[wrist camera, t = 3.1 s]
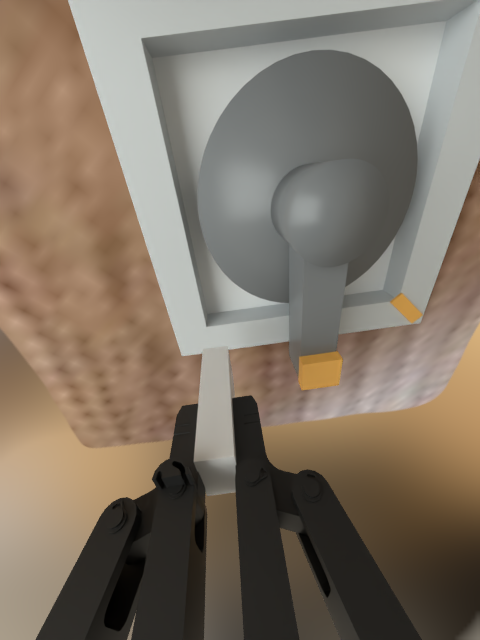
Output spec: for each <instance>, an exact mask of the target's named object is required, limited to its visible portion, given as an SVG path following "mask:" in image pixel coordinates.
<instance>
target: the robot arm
mask: <svg viewBox="0 0 480 640" xmlns="http://www.w3.org/2000/svg"><path fill="white" fill-rule="evenodd" d="M152 480H153V482H154V483H155V485H156V488H155V489H153V490H152V491H150V492H149V493H147V494H145V495H143V496H141V497H139V498H137V499H135V500H132V499H130V498H127V497H126V498H120V499H118V500H116V501H114V502H112V503H111V504H110V505H109V506H108V507H107V508H106V509H105V510H104V512H103V513H102V515H101V516H100V518H99V520H98V522H97V524H96V526H95V527H94V530H93V531H92V533H91V535H90V537H89V539H88V541H87V543H86V545H85V547H84V548H83V550H82V552H81V554H80V556H79V558H78V560H77V562H76V564H75V566H74V567H73V570H72V571H71V573H70V575H69V577H68V579H67V581H66V583H65V585H64V586H63V588H62V590H61V592H60V594H59V596H58V598H57V600H56V602H55V604H54V606H53V607H52V609H51V611H50V613H49V615H48V617H47V619H46V621H45V623H44V625H43V626H42V628H41V630H40V632H39V634H38V636H37V638H36V640H127V637H128V634H129V632H130V628H131V625H132V622H133V619H134V616H135V613H136V616H135V622H134V627H133V633H132V639H131V640H204V614H205V613H204V611H205V577H206V575H205V574H206V537H207V509H206V506H205V491H206V494H207V496H211V495H217V494H224V493H231V492H236V506H237V524H238V541H239V559H240V576H241V592H242V593H241V594H242V611H243V629H244V640H299V635H298V629H297V624H296V618H295V612H294V607H293V601H292V596H291V590H290V584H289V578H288V573H287V567H286V561H285V556H284V550H283V545H282V539H281V533H280V528H283V529H286V530H290V531H294V532H296V534H297V537H298V539H299V541H300V544H301V546H302V549H303V551H304V553H305V556H306V558H307V561H308V563H309V565H310V568H311V570H312V572H313V575H314V577H315V580H316V582H317V584H318V587H319V589H320V592H321V594H322V596H323V599H324V601H325V603H326V606H327V608H328V611H329V613H330V615H331V618H332V620H333V623H334V625H335V627H336V630H337V632H338V635H339V637H340V639H341V640H422V639H421V638H420V636H419V634H418V633H417V631H416V629H415V628H414V626H413V624H412V623H411V621H410V619H409V618H408V616H407V614H406V613H405V611H404V609H403V607H402V606H401V604H400V602H399V601H398V599H397V597H396V596H395V594H394V592H393V591H392V589H391V588H390V586H389V584H388V583H387V581H386V579H385V578H384V576H383V574H382V572H381V571H380V569H379V568H378V566H377V564H376V563H375V561H374V559H373V557H372V556H371V554H370V553H369V551H368V549H367V547H366V546H365V544H364V542H363V541H362V539H361V537H360V536H359V534H358V533H357V531H356V529H355V527H354V526H353V524H352V522H351V521H350V519H349V517H348V516H347V514H346V512H345V511H344V509H343V507H342V506H341V504H340V502H339V501H338V499H337V497H336V496H335V494H334V492H333V490H332V489H331V487H330V486H329V484H328V482H327V481H326V480H325V479H324V477H323V476H322V475H320V474H319V473H317V472H315V471H312V470H303V471H300V472H299V473H298V474H294V473H289V472H284V471H282V470H279V469H277V468H276V467H274V466H273V465H272V464H271V463H270V462H269V460H268V458H267V455H266V452H265V446H264V441H263V435H262V429H261V424H260V418H259V412H258V407H257V403H256V401H255V400H254V398H253V397H252V396H244V397H237V398H235V394H234V382H233V374H232V368H231V363H230V357H229V352H228V346H223V347H216V348H209V349H203V353H202V366H201V378H200V390H199V402H198V404H192V405H185V406H182V408H181V409H180V411H179V413H178V414H177V418H176V424H175V430H174V436H173V441H172V448H171V453H170V459H168V460H166V461H164V462H163V463H162V464H160V466H159V467H158V468H157V469H156V471H155V473H154V475H153V478H152ZM136 610H137V611H136Z"/></svg>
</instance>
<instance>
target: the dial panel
mask: <svg viewBox="0 0 480 640" xmlns="http://www.w3.org/2000/svg"><path fill="white" fill-rule="evenodd" d="M68 1H69V5H70V8H71V11H72V14H73V17H74V20H75V23H76V26H77V30H78V33H79V36H80V39H81V42H82V45H83V48H84V51H85V55H86V58H87V61H88V64H89V67H90V70H91V73H92V76H93V80H94V83H95V86H96V89H97V92H98V95H99V98H100V101H101V105H102V108H103V111H104V114H105V117H106V120H107V123H108V126H109V130H110V133H111V136H112V139H113V142H114V145H115V148H116V151H117V155H118V158H119V161H120V164H121V167H122V170H123V173H124V176H125V180H126V183H127V186H128V189H129V192H130V195H131V198H132V201H133V205H134V208H135V211H136V214H137V217H138V220H139V223H140V226H141V229H142V233H143V236H144V239H145V242H146V245H147V248H148V251H149V254H150V258H151V261H152V264H153V267H154V270H155V273H156V276H157V279H158V283H159V286H160V289H161V292H162V295H163V298H164V301H165V304H166V308H167V311H168V314H169V317H170V320H171V323H172V326H173V329H174V333H175V336H176V339H177V342H178V345H179V348H180V351H181V354H182V356H187V355H194V354H201V353H203V349H209V348H216V347H223V346H228V350H230V349H237V348H244V347H251V346H259V345H266V344H273V343H280V342H287V341H289V303H279V302H273V301H268V300H265V299H262V298H259V297H256V296H254V295H252V294H250V293H248V292H246V291H245V290H243V289H241V288H240V287H239V286H237V285H236V284H235V283H234V282H232V281H231V280H230V279H229V278H228V277H227V276H226V275H225V274H224V273H223V272H222V270H221V269H220V267H219V266H218V265H217V263H216V262H215V260H214V259H213V257H212V255H211V253H210V251H209V249H208V247H207V244H206V242H205V239H204V237H203V233H202V229H201V225H200V221H199V213H198V196H197V189H198V179H199V171H200V167H201V162H202V158H203V154H204V151H205V148H206V145H207V142H208V140H209V137H210V135H211V133H212V131H213V129H214V127H215V125H216V123H217V121H218V119H219V117H220V115H221V114H222V112H223V111H224V109H225V108H226V107H227V105H228V104H229V102H230V101H231V100H232V98H233V97H234V96H235V95H236V94H237V93H238V92H239V90H240V89H241V88H242V87H243V86H244V85H245V84H246V83H247V82H249V81H250V80H251V79H252V78H253V77H254V76H256V75H257V74H258V73H259V72H261V71H262V70H264V69H266V68H267V67H269V66H270V65H272V64H274V63H275V62H277V61H279V60H282V59H284V58H287V57H289V56H291V55H294V54H298V53H303V52H307V51H311V50H336V51H342V52H348V53H351V54H353V55H356V56H359V57H361V58H364V59H366V60H367V61H369V62H370V63H372V64H373V65H375V66H377V67H378V68H380V69H381V70H382V71H383V72H384V73H385V74H386V75H387V76H388V77H389V78H390V79H391V80H392V81H393V83H394V84H395V86H396V87H397V88H398V90H399V91H400V93H401V94H402V96H403V98H404V100H405V102H406V104H407V106H408V108H409V111H410V114H411V117H412V120H413V123H414V127H415V133H416V140H417V155H418V162H417V174H416V181H415V186H414V191H413V195H412V198H411V202H410V205H409V208H408V211H407V213H406V215H405V218H404V220H403V223H402V225H401V226H400V228H399V230H398V232H397V234H396V236H395V237H394V239H393V240H392V242H391V243H390V245H389V246H388V248H387V249H386V251H385V252H384V253H383V254H382V256H381V257H380V258H379V259H378V260H377V261H376V262H375V263H374V264H373V266H372V267H371V268H370V269H369V270H368V271H366V272H365V273H364V274H363V275H362V276H360V277H359V278H358V279H357V280H355V281H354V282H352V283H351V284H349V285H348V286H346V287H345V291H344V298H343V306H342V313H341V320H340V327H339V334H345V333H352V332H359V331H366V330H374V329H381V328H388V327H395V326H402V325H409V324H417V323H421V320H422V317H423V315H424V312H425V309H426V306H427V303H428V301H429V298H430V295H431V292H432V290H433V287H434V284H435V281H436V278H437V276H438V273H439V270H440V267H441V265H442V262H443V259H444V256H445V253H446V251H447V248H448V245H449V242H450V239H451V237H452V234H453V231H454V228H455V226H456V223H457V220H458V217H459V214H460V212H461V209H462V206H463V203H464V201H465V198H466V195H467V192H468V189H469V187H470V184H471V181H472V178H473V176H474V173H475V170H476V167H477V164H478V162H479V159H480V0H68Z"/></svg>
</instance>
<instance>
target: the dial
mask: <svg viewBox="0 0 480 640" xmlns="http://www.w3.org/2000/svg"><path fill="white" fill-rule="evenodd" d="M417 162H418V155H417V140H416V133H415V127H414V123H413V120H412V117H411V114H410V111H409V108H408V106H407V104H406V102H405V100H404V98H403V96H402V94H401V93H400V91H399V90H398V88H397V87H396V86H395V84H394V83H393V81H392V80H391V79H390V78H389V77H388V76H387V75H386V74H385V73H384V72H383V71H382V70H381V69H380V68H378V67H377V66H375V65H373V64H372V63H370V62H369V61H367V60H366V59H364V58H361V57H359V56H356V55H353V54H351V53H348V52H342V51H336V50H311V51H307V52H303V53H298V54H294V55H291V56H289V57H287V58H284V59H282V60H279V61H277V62H275V63H274V64H272V65H270V66H269V67H267V68H266V69H264V70H262V71H261V72H259V73H258V74H257V75H256V76H254V77H253V78H252V79H251V80H250V81H249V82H247V83H246V84H245V85H244V86H243V87H242V88H241V89H240V90H239V92H238V93H237V94H236V95H235V96H234V97H233V98H232V100H231V101H230V102H229V104H228V105H227V107H226V108H225V109H224V111H223V112H222V114H221V115H220V117H219V119H218V121H217V123H216V125H215V127H214V129H213V131H212V133H211V135H210V137H209V140H208V142H207V145H206V148H205V151H204V154H203V158H202V162H201V167H200V171H199V179H198V189H197V196H198V213H199V221H200V225H201V229H202V233H203V237H204V239H205V242H206V244H207V247H208V249H209V251H210V253H211V255H212V257H213V259H214V260H215V262H216V263H217V265H218V266H219V267H220V269H221V270H222V272H223V273H224V274H225V275H226V276H227V277H228V278H229V279H230V280H231V281H232V282H234V283H235V284H236V285H237V286H239V287H240V288H241V289H243V290H245V291H246V292H248V293H250V294H252V295H254V296H256V297H259V298H262V299H265V300H268V301H273V302H279V303H289V356H290V358H291V361H292V363H293V366H294V368H295V371H296V373H297V376H298V378H299V380H298V382H299V384H300V387H301V390H308V389H315V388H322V387H329V386H336V385H339V380H340V374H341V368H342V362H343V359H342V357H341V356H340V354H339V353H338V351H336V348H337V341H338V334H339V327H340V320H341V313H342V306H343V298H344V291H345V287H346V286H348V285H349V284H351V283H352V282H354V281H355V280H357V279H358V278H359V277H360V276H362V275H363V274H364V273H365V272H366V271H368V270H369V269H370V268H371V267H372V266H373V264H374V263H375V262H376V261H377V260H378V259H379V258H380V257H381V256H382V254H383V253H384V252H385V251H386V249H387V248H388V246H389V245H390V243H391V242H392V240H393V239H394V237H395V236H396V234H397V232H398V230H399V228H400V226H401V225H402V223H403V220H404V218H405V215H406V213H407V211H408V208H409V205H410V202H411V198H412V195H413V191H414V186H415V181H416V174H417Z"/></svg>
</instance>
